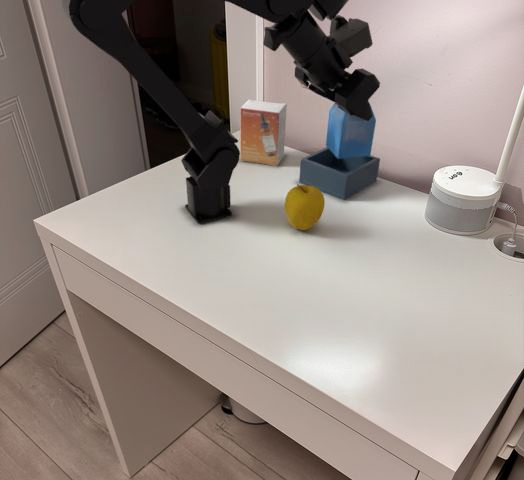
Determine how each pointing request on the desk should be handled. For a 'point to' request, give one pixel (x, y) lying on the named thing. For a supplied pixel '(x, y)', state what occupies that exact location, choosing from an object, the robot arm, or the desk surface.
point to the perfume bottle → (349, 134)
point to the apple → (304, 206)
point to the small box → (262, 132)
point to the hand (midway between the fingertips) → (359, 112)
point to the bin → (338, 173)
